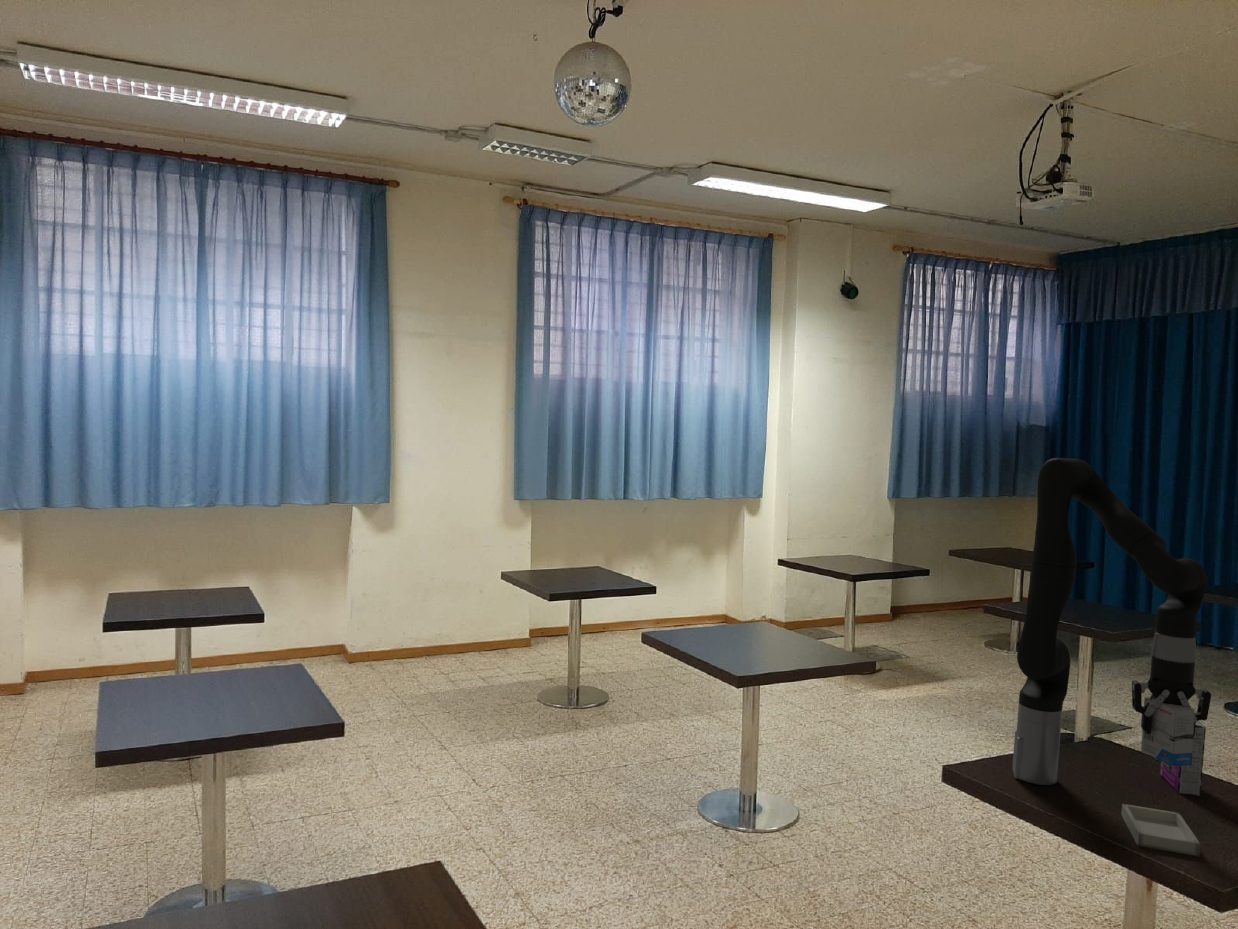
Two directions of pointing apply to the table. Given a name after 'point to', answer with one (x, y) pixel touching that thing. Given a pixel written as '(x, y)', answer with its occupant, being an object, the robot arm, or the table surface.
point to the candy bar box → (1188, 767)
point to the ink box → (1170, 734)
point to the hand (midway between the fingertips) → (1167, 735)
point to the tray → (1160, 830)
